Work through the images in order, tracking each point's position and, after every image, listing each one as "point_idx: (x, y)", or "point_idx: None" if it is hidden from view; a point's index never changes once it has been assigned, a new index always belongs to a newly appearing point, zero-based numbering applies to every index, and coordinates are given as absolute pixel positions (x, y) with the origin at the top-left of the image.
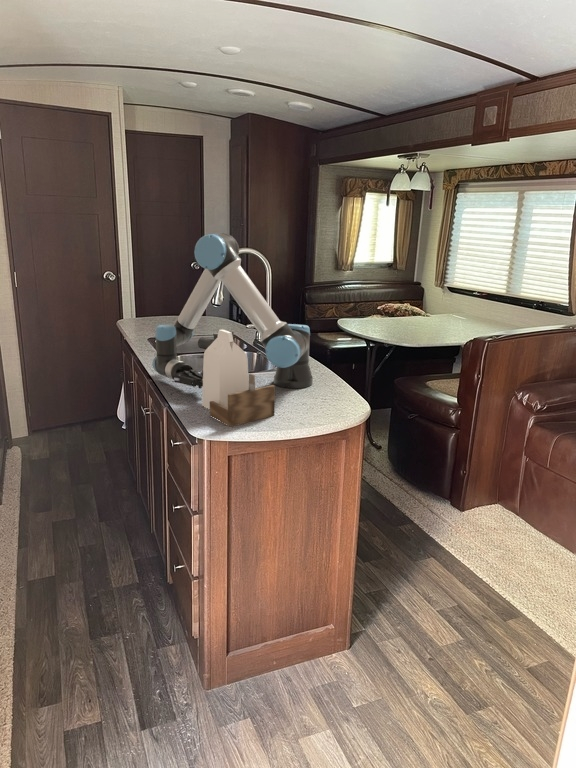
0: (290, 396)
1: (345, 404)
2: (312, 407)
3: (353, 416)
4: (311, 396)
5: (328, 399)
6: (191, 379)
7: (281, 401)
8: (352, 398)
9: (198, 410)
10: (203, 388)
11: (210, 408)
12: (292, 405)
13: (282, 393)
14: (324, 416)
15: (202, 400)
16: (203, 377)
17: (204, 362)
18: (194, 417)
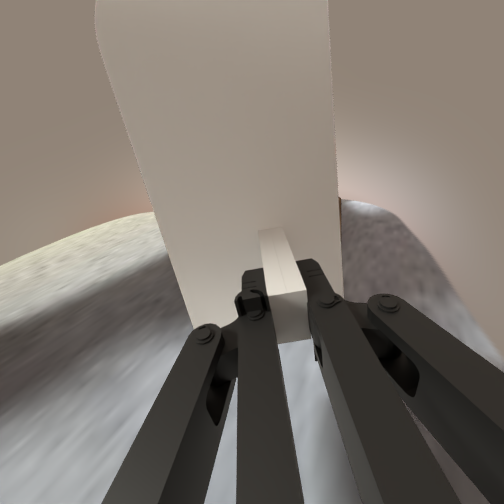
0: (42, 301)
1: (66, 245)
2: (114, 244)
3: (125, 218)
4: (23, 287)
5: (40, 266)
6: (423, 315)
7: (105, 279)
8: (16, 261)
9: (370, 280)
10: (338, 232)
11: (339, 216)
12: (123, 257)
13: (9, 331)
14: (150, 221)
15: (343, 292)
16: (335, 172)
17: (326, 59)
18: (391, 244)
